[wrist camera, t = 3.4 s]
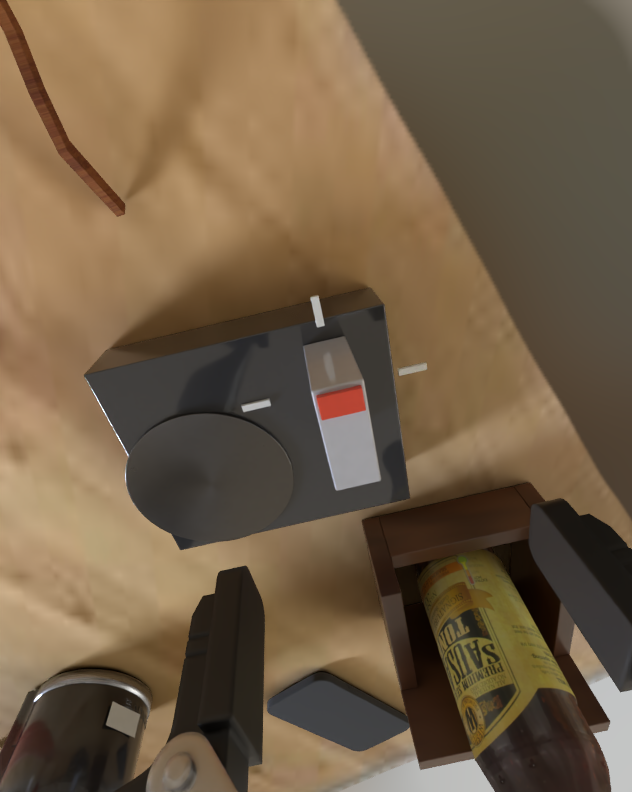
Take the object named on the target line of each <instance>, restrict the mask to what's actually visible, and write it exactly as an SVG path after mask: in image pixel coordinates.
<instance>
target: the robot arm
mask: <svg viewBox="0 0 632 792" xmlns="http://www.w3.org/2000/svg"><path fill="white" fill-rule="evenodd" d="M529 548H530V551H531V554H532V557H533V559H534V561H535V563H536V564H537V566H538V567H539V569H540V570H541V572H542V573H543V575H544V577H545V578H546V580H547V581H548V583H549V584H550V586H551V587H552V589H553V590H554V592H555V593H556V595H557V596H558V598H559V599H560V601H561V602H562V604H563V605H564V607H565V608H566V610H567V612H568V613H569V615H570V616H571V618H572V619H573V621H574V622H575V624H576V625H577V627H578V628H579V630H580V631H581V633H582V634H583V636H584V637H585V639H586V640H587V642H588V643H589V645H590V647H591V648H592V650H593V651H594V653H595V654H596V656H597V657H598V659H599V660H600V662H601V663H602V665H603V666H604V668H605V669H606V671H607V672H608V674H609V675H610V677H611V678H612V680H613V682H614V683H615V685H616V686H617V688H618V689H619V691H620V692H623V691H629V690H632V549H631V548H628V547H627V544H626V543H625V542H624V541H623V540H622V538H621V537H620V536H619V535H618V534H617V533H616V532H615V531H614V530H613V529H612V528H611V527H610V526H608V525H607V524H605V523H603V522H602V521H600V520H599V519H597V518H595V517H594V516H592V515H590V514H586V515H581V516H579V515H578V514H577V513H576V511H575V510H574V509H573V508H572V507H571V506H570V505H569V503H568V502H567V501H565V500H564V499H561V498H559V499H555V500H550V501H545V502H541V503H536V504H533V505H532V506H531V513H530V527H529ZM264 636H265V615H264V607H263V602H262V599H261V596H260V594H259V592H258V589H257V587H256V585H255V583H254V580H253V578H252V576H251V574H250V571H249V569H248V567H247V566H242V567H237V568H232V569H228V570H223V571H220V572H219V573H218V576H217V582H216V589H215V594H211V595H206V596H203V597H202V599H201V600H200V602H199V604H198V606H197V608H196V610H195V612H194V613H193V615H192V620H191V625H190V631H189V636H188V637H189V641H188V642H187V647H186V653H185V655H186V658H185V659H184V664H183V670H182V675H181V681H180V686H179V692H178V697H177V703H176V709H175V714H174V720H173V725H172V729H171V733H170V735H169V738H168V741H167V743H166V745H165V746H164V747H163V748H162V749H161V751H160V752H159V754H158V755H157V757H156V758H155V760H154V762H153V764H152V765H151V766H150V767H149V768H148V769H147V770H146V771H145V772H143V773H142V774H141V775H139V776H138V777H136V778H135V779H134V774H135V770H136V765H137V761H138V757H139V752H140V748H141V743H142V739H143V734H144V730H145V728H146V724H147V719H148V717H149V713H150V709H151V704H152V694H151V692H150V690H149V689H148V688H147V686H146V685H144V684H143V683H142V682H140V681H139V680H137V679H135V678H133V677H131V676H129V675H126V674H123V673H119V672H115V671H110V670H101V669H83V670H75V671H69V672H65V673H62V674H59V675H57V676H54V677H52V678H50V679H49V680H47V681H46V682H45V683H43V684H42V686H41V687H40V688H39V689H38V690H35V691H30V692H28V694H27V696H26V698H25V700H24V703H23V705H22V707H21V709H20V711H19V713H18V715H17V718H16V720H15V722H14V724H13V726H12V728H11V731H10V733H9V735H8V737H7V739H6V741H5V744H4V746H3V748H2V750H1V752H0V792H247V791H248V767H249V766H254V765H259V764H262V743H263V690H264Z"/></svg>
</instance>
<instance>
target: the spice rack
mask: <svg viewBox="0 0 632 792" xmlns="http://www.w3.org/2000/svg"><path fill="white" fill-rule="evenodd" d="M541 502H545V500H544V499H543V498H542V496H541V495H540V494H539V493H538V492H537V490H536V489H535V488H534V487H533V485H532V484H531V483H525V484H520V485H516V486H514V487H513V486H512V487H507V488H503V489H499V490H494V491H490V492H485V493H481V494H476V495H472V496H468V497H463V498H459V499H454V500H450V501H445V502H441V503H436V504H432V505H428V506H423V507H419V508H414V509H410V510H405V511H401V512H396V513H392V514H388V515H383V516H379V517H374V518H369V519H365V520H362V525H363V529H364V534H365V538H366V543H367V548H368V552H369V557H370V561H371V566H372V570H373V575H374V580H375V584H376V589H377V593H378V598H379V602H380V607H381V611H382V616H383V621H384V625H385V629H386V633H387V637H388V641H389V645H390V649H391V653H392V657H393V661H394V665H395V669H396V673H397V677H398V681H399V685H400V690H401V694H402V698H403V702H404V706H405V710H406V714H407V718H408V722H409V726H410V730H411V734H412V738H413V742H414V746H415V750H416V754H417V759H418V763H419V766H420V769H421V770H422V769H427V768H432V767H436V766H441V765H446V764H451V763H455V762H460V761H465V760H470V759H474V755H473V752H472V749H471V746H470V744H469V740H468V737H467V734H466V731H465V728H464V725H463V722H462V719H461V716H460V713H459V709H458V706H457V703H456V700H455V697H454V694H453V691H452V688H451V685H450V682H449V679H448V676H447V673H446V670H445V667H444V665H443V661H442V658H441V656H440V653H439V649H438V646H437V643H436V640H435V637H434V634H433V631H432V628H431V625H430V622H429V619H428V616H427V613H426V610H425V607H424V604H423V602H422V603H418V604H413V605H409V606H404V605H403V599H402V593H401V590H400V586H399V583H398V580H397V577H396V573H395V570H394V568H399V567H403V566H408V565H412V564H417V563H421V562H426V561H430V560H435V559H439V558H444V557H448V556H453V555H457V554H462V553H466V552H471V551H475V550H480V549H484V548H489V547H493V546H498V545H502V544H507V543H511V542H512V544H511V571H510V578H511V580H512V582H513V584H514V586H515V587H516V589H517V591H518V593H519V595H520V597H521V598H522V600H523V602H524V604H525V606H526V608H527V609H528V611H529V613H530V615H531V617H532V619H533V621H534V622H535V624H536V626H537V628H538V630H539V632H540V633H541V635H542V637H543V639H544V641H545V643H546V644H547V646H548V648H549V650H550V652H551V653H552V655H553V657H554V659H555V661H556V662H557V664H558V666H559V668H560V670H561V672H562V673H563V675H564V677H565V679H566V681H567V683H568V684H569V686H570V688H571V690H572V692H573V694H574V695H575V697H576V700H577V706H578V707H579V709H580V710H581V712H582V715H583V716H584V718H585V720H586V722H587V724H588V725H589V727H590V729H591V731H592V733H597V732H602V731H607V730H608V727H609V724H610V720H609V719H608V717H607V715H606V714H605V712H604V711H603V709H602V707H601V706H600V704H599V702H598V701H597V699H596V697H595V696H594V694H593V692H592V691H591V689H590V688H589V686H588V684H587V683H586V681H585V679H584V678H583V676H582V674H581V673H580V671H579V669H578V668H577V666H576V665H575V663H574V661H573V660H572V658H571V656H570V655H569V653H570V648H571V642H572V636H573V630H574V624H575V622H574V621H573V619H572V618H571V616H570V615H569V613H568V612H567V610H566V608H565V607H564V605H563V604H562V602H561V601H560V599H559V598H558V596H557V595H556V593H555V592H554V590H553V589H552V587H551V586H550V584H549V583H548V581H547V580H546V578H545V577H544V575H543V573H542V572H541V570H540V569H539V567H538V566H537V564H536V563H535V561H534V559H533V557H532V554H531V551H530V548H529V527H530V513H531V506H532V505H533V504H536V503H541Z"/></svg>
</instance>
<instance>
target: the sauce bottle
mask: <svg viewBox="0 0 632 792" xmlns="http://www.w3.org/2000/svg"><path fill="white" fill-rule="evenodd" d="M416 573H417V579H418V588H419V591H420V594H421V598H422V601H423V604H424V607H425V610H426V613H427V616H428V619H429V622H430V625H431V628H432V631H433V634H434V637H435V640H436V643H437V646H438V649H439V653H440V656H441V658H442V661H443V665H444V667H445V670H446V673H447V676H448V679H449V682H450V685H451V688H452V691H453V694H454V697H455V700H456V703H457V706H458V709H459V713H460V716H461V719H462V722H463V725H464V728H465V731H466V734H467V737H468V740H469V744H470V746H471V749H472V752H473V755H474V758H475V761H476V762H477V763H478V765H479V767H480V768H481V770H482V771H483V773H484V775H485V776H486V778H487V780H488V781H489V782H490V784H491V786H492V787H493V789H494V791H495V792H611V785H610V777H609V769H608V766H607V763H606V760H605V757H604V755H603V752H602V751H601V748H600V745H599V743H598V742H597V739H596V738H595V736H594V734H593V733H592V731H591V729H590V727H589V725H588V724H587V722H586V720H585V718H584V716H583V715H582V712H581V710H580V709H579V707H578V706H577V700H576V697H575V695H574V694H573V692H572V690H571V688H570V686H569V684H568V683H567V681H566V679H565V677H564V675H563V673H562V672H561V670H560V668H559V666H558V664H557V662H556V661H555V659H554V657H553V655H552V653H551V652H550V650H549V648H548V646H547V644H546V643H545V641H544V639H543V637H542V635H541V633H540V632H539V630H538V628H537V626H536V624H535V622H534V621H533V619H532V617H531V615H530V613H529V611H528V609H527V608H526V606H525V604H524V602H523V600H522V598H521V597H520V595H519V593H518V591H517V589H516V587H515V586H514V584H513V582H512V580H511V578H510V577H509V575H508V573H507V571H506V569H505V567H504V565H503V563H502V562H501V560H500V559H499V558H498V557H497V556H496V555H495V554H494V552H493V549H492V547H489V548H484V549H480V550H475V551H471V552H466V553H462V554H457V555H453V556H448V557H444V558H439V559H435V560H430V561H426V562H421V563H417V564H416Z"/></svg>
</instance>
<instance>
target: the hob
mask: <svg viewBox="0 0 632 792" xmlns="http://www.w3.org/2000/svg"><path fill="white" fill-rule="evenodd" d="M310 298H311V302H307V303H303V304H298V305H294V306H290V307H286V308H281V309H277V310H273V311H269V312H265V313H260V314H256V315H252V316H248V317H244V318H239V319H235V320H231V321H227V322H222V323H218V324H214V325H210V326H206V327H201V328H197V329H193V330H189V331H184V332H180V333H176V334H172V335H168V336H163V337H159V338H155V339H151V340H147V341H142V342H138V343H134V344H130V345H125V346H121V347H117V348H113V349H109V350H106V351H105V352H104V353H103V354H102V355H101V357H100V358H99V359H98V360H97V361H96V362H95V363H94V364H93V365H92V367H91V368H90V369H89V370H88V371H87V372H86V373H85V374H84V377H85V379H86V380H87V382H88V384H89V386H90V388H91V390H92V391H93V393H94V395H95V397H96V399H97V400H98V402H99V404H100V406H101V408H102V409H103V411H104V413H105V415H106V417H107V418H108V420H109V422H110V424H111V426H112V427H113V429H114V431H115V433H116V435H117V436H118V438H119V440H120V442H121V444H122V446H123V447H124V449H125V451H126V453H127V455H128V456H129V455H130V453H131V451H132V449H133V447H134V446H135V444H136V443H137V441H138V440H139V439H140V438H141V437H142V436H143V435H144V434H145V433H146V432H147V431H148V430H150V429H151V428H152V427H154V426H156V425H157V424H159V423H161V422H163V421H165V420H167V419H170V418H172V417H176V416H179V415H182V414H188V413H194V412H219V413H225V414H231V415H234V416H238V417H241V418H244V419H246V420H249V421H251V422H253V423H255V424H257V425H259V426H261V427H262V428H264V429H265V430H266V431H268V432H269V433H270V434H272V435H273V436H274V437H275V438H276V439H277V440H278V441H279V443H280V444H281V445H282V446H283V447H284V449H285V451H286V453H287V454H288V456H289V459H290V461H291V464H292V468H293V475H294V485H293V491H292V495H291V498H290V500H289V502H288V504H287V506H286V508H285V509H284V511H283V512H282V513H281V514H280V515H279V516H278V518H277V519H276V520H274V521H273V522H272V523H271V524H270V525H268V526H267V527H265V528H264V529H262V530H260V531H258V532H256V533H259V532H264V531H268V530H273V529H277V528H281V527H286V526H290V525H295V524H299V523H304V522H308V521H312V520H317V519H321V518H326V517H330V516H335V515H339V514H343V513H348V512H352V511H357V510H361V509H366V508H370V507H375V506H379V505H383V504H388V503H392V502H397V501H401V500H406V499H409V498H410V494H409V486H408V479H407V471H406V463H405V456H404V448H403V441H402V433H401V426H400V418H399V410H398V403H397V395H396V388H395V380H394V372H393V365H392V357H391V350H390V342H389V335H388V327H387V319H386V312H385V305H384V303H383V302H382V301H381V300H380V298H379V297H378V296H377V295H376V294H375V292H374V291H373V290H372V289H371V288H366V289H362V290H357V291H353V292H349V293H345V294H341V295H336V296H332V297H328V298H324V299H319V296H318V295H315V296H311V297H310ZM343 336H345V337H346V340H347V342H348V344H349V346H350V349H351V351H352V353H353V356H354V358H355V360H356V363H357V365H358V367H359V369H360V372H361V374H362V376H363V379H364V383H365V388H366V394H367V400H368V406H369V411H370V417H371V423H372V429H373V434H374V440H375V446H376V452H377V457H378V463H379V469H380V475H381V481H378V482H374V483H369V484H365V485H360V486H356V487H352V488H347V489H343V490H338V491H336V489H335V487H334V483H333V479H332V475H331V471H330V467H329V463H328V459H327V455H326V451H325V447H324V443H323V439H322V435H321V431H320V427H319V423H318V419H317V415H316V411H315V407H314V403H313V399H312V395H311V390H310V384H309V379H308V373H307V367H306V361H305V356H304V350H303V346H305V345H309V344H313V343H317V342H321V341H326V340H330V339H334V338H338V337H343ZM423 370H427V363H426V362H423V363H419V364H415V365H410V366H406V367H402V368H398V375H399V376H401V375H406V374H410V373H414V372H419V371H423ZM254 534H255V533H254ZM172 536H173V538H174V539H175V541H176V543H177V545H178V547H179V548H180V550H184V549H188V548H193V547H197V546H202V545H206V544H211V543H215V542H205V541H196V540H191V539H186V538H183V537H179V536H176V535H174V534H172Z"/></svg>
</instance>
